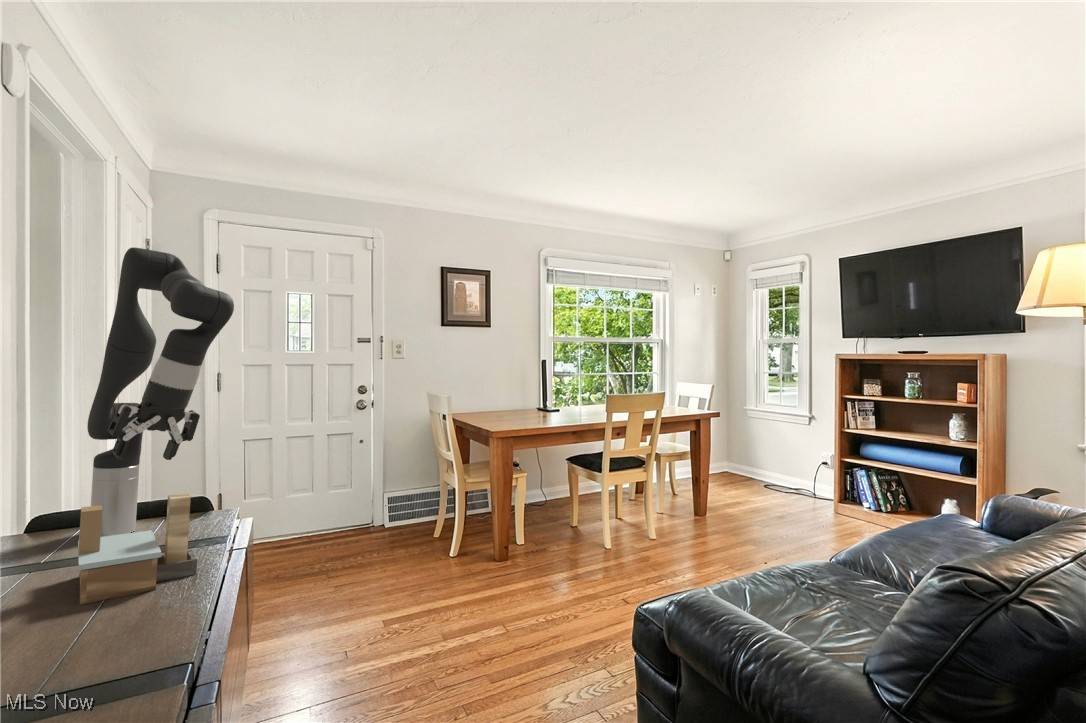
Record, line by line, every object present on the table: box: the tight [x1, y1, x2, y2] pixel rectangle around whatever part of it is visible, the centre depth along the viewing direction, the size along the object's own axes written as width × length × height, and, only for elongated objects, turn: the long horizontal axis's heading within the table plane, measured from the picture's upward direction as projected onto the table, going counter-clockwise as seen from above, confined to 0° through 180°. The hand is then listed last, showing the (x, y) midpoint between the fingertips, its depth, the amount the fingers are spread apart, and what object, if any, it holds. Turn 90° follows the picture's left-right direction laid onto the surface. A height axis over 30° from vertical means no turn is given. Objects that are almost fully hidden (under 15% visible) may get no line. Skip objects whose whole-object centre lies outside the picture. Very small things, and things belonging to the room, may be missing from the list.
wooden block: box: [164, 493, 192, 564], centre depth 110 cm, size 4×4×16 cm
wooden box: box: [78, 549, 198, 605], centre depth 106 cm, size 16×18×6 cm
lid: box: [77, 505, 162, 572], centre depth 104 cm, size 17×12×9 cm
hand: (143, 458), depth 103 cm, fingers open, 8 cm apart
